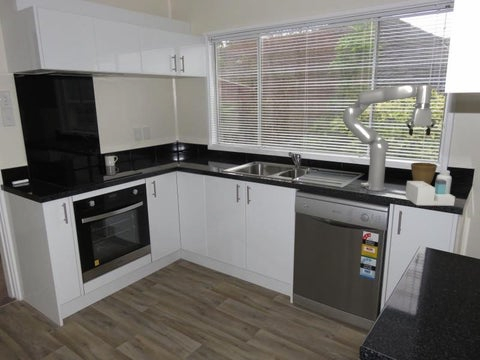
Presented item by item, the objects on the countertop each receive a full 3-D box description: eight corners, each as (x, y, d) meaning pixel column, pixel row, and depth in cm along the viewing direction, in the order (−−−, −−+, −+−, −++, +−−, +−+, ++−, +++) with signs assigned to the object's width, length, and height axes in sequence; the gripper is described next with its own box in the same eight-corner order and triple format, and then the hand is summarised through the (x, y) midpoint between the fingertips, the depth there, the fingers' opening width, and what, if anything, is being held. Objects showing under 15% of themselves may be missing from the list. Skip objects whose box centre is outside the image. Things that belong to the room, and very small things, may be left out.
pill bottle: (445, 197, 207) (448, 172, 204) (432, 194, 214) (434, 170, 210) (451, 194, 212) (454, 170, 208) (438, 192, 218) (441, 168, 215)
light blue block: (436, 199, 198) (439, 181, 195) (433, 197, 201) (435, 179, 199) (444, 199, 197) (446, 181, 195) (440, 197, 201) (442, 179, 199)
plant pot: (421, 184, 237) (423, 161, 233) (439, 189, 223) (442, 165, 219) (403, 186, 232) (405, 163, 229) (421, 192, 219) (423, 167, 215)
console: (416, 205, 193) (418, 188, 191) (405, 197, 209) (407, 181, 206) (453, 205, 192) (456, 188, 189) (439, 197, 207) (441, 181, 205)
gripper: (409, 106, 201) (406, 136, 205) (440, 106, 200) (437, 136, 204) (404, 106, 208) (402, 134, 212) (434, 106, 207) (431, 134, 211)
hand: (419, 135), depth 208 cm, fingers open, 9 cm apart
